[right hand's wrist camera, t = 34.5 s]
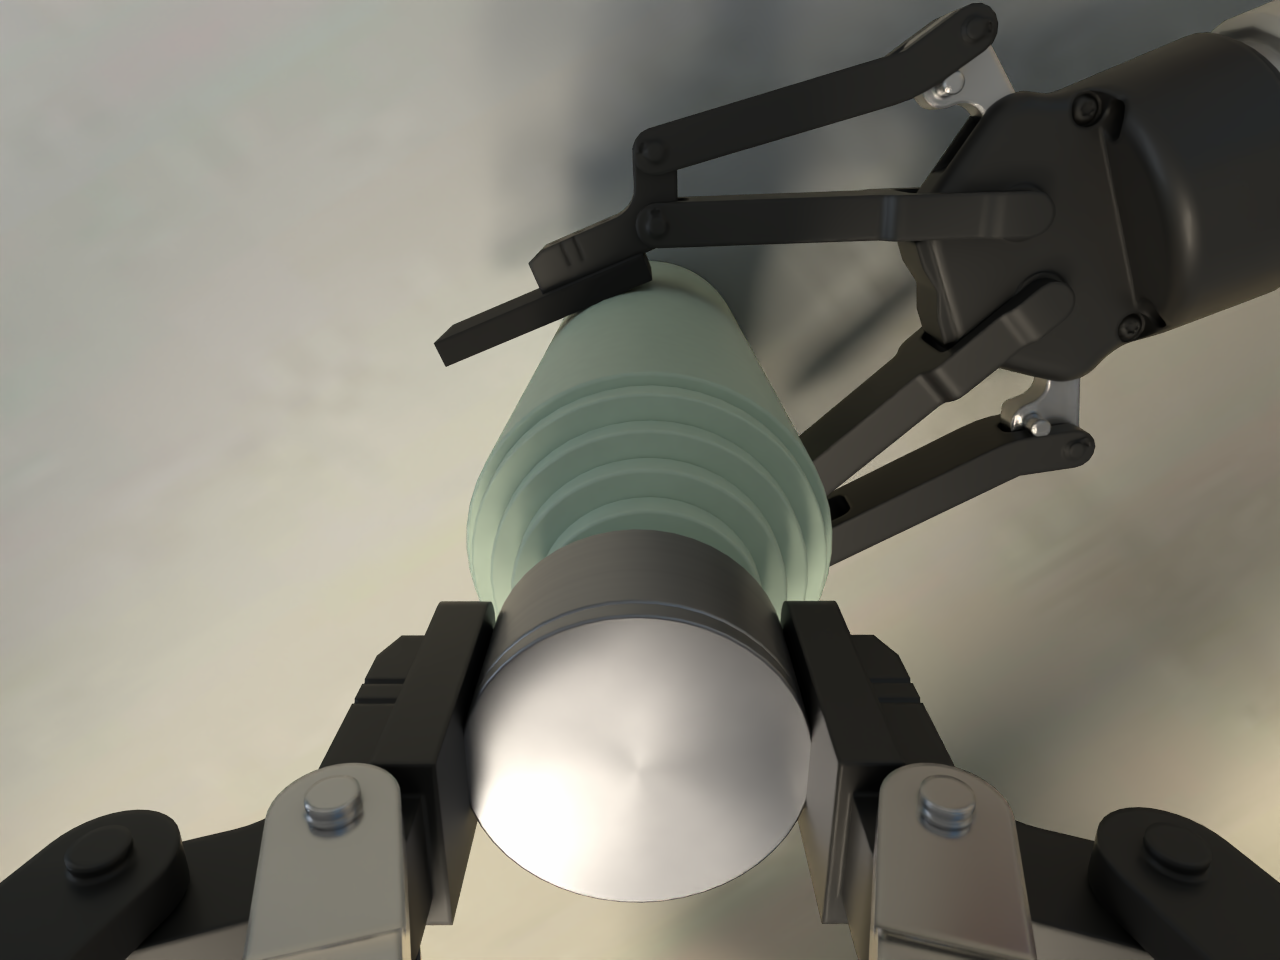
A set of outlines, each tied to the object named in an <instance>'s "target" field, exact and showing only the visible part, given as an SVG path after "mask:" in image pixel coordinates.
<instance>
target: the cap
mask: <svg viewBox="0 0 1280 960" xmlns="http://www.w3.org/2000/svg"><path fill="white" fill-rule="evenodd" d="M464 745H465V756H466V767H467V778H468V789H469V800H470V807H471V809H472V811H473V813H474V815H475V816H476V818H477V820H478V822H479V824H480V825H481V827H482V828H483V830H484V831H485V832H486V833H487V835H488V836H489V837H490V839H491V840H492V841H493V842H494V843H495V844H496V845H497V846H498V847H499V848H500V849H501V850H502V851H503V852H504V853H505V855H506V856H508V857H509V858H510V859H512V860H513V861H514V862H515V863H517V864H518V865H519V866H521V867H522V868H523V869H525V870H527V871H528V872H530V873H531V874H533V875H535V876H536V877H538V878H540V879H542V880H544V881H546V882H548V883H550V884H552V885H555V886H557V887H559V888H562V889H565V890H568V891H571V892H573V893H576V894H580V895H584V896H588V897H593V898H597V899H603V900H610V901H618V902H656V901H666V900H672V899H678V898H684V897H688V896H691V895H695V894H699V893H702V892H706V891H708V890H711V889H713V888H716V887H718V886H721V885H723V884H726V883H727V882H729V881H731V880H733V879H735V878H737V877H739V876H741V875H743V874H744V873H746V872H747V871H749V870H750V869H752V868H753V867H754V866H756V865H757V864H759V863H760V862H761V861H762V860H764V859H765V858H766V857H767V856H768V855H769V854H770V853H772V852H773V851H774V850H775V849H776V848H777V847H778V845H779V844H780V843H781V842H782V841H783V840H784V839H785V838H786V836H787V835H788V834H789V832H790V831H791V829H792V828H793V826H794V825H795V823H796V822H797V820H798V818H799V816H800V814H801V812H802V810H803V808H804V806H805V803H806V794H807V783H808V772H809V760H810V749H811V727H810V723H809V720H808V716H807V713H806V709H805V706H804V702H803V699H802V696H801V692H800V689H799V685H798V682H797V678H796V675H795V671H794V668H793V664H792V661H791V658H790V654H789V651H788V647H787V644H786V640H785V637H784V633H783V630H782V627H781V624H780V621H779V618H778V615H777V613H776V610H775V608H774V606H773V605H772V603H771V601H770V599H769V597H768V595H767V594H766V593H765V591H764V590H763V589H762V587H761V586H760V585H759V583H758V582H757V581H756V580H755V579H754V578H753V577H752V576H751V575H750V574H749V573H748V572H747V571H746V569H745V568H743V567H742V566H741V565H740V564H738V563H737V562H736V561H734V560H733V559H732V558H730V557H729V556H728V555H726V554H724V553H722V552H721V551H719V550H717V549H715V548H714V547H712V546H710V545H707V544H705V543H702V542H700V541H698V540H695V539H693V538H689V537H686V536H682V535H679V534H675V533H670V532H664V531H657V530H641V529H631V530H619V531H611V532H606V533H601V534H596V535H592V536H589V537H586V538H583V539H581V540H578V541H575V542H572V543H570V544H568V545H566V546H564V547H562V548H560V549H558V550H556V551H554V552H553V553H551V554H550V555H548V556H547V557H545V558H544V559H542V560H541V561H539V562H538V563H537V564H536V565H535V566H534V567H533V568H531V569H530V570H529V571H528V572H527V573H526V574H525V575H524V576H523V577H522V578H521V579H520V581H519V582H518V583H517V584H516V585H515V586H514V588H513V589H512V591H511V592H510V594H509V595H508V597H507V598H506V600H505V602H504V604H503V606H502V608H501V610H500V612H499V615H498V617H497V620H496V623H495V626H494V630H493V633H492V636H491V639H490V643H489V646H488V649H487V652H486V656H485V659H484V662H483V665H482V669H481V672H480V675H479V678H478V682H477V685H476V688H475V691H474V695H473V698H472V701H471V704H470V708H469V711H468V714H467V718H466V721H465V725H464Z"/></svg>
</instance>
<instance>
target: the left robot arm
mask: <svg viewBox="0 0 1280 960" xmlns="http://www.w3.org/2000/svg"><path fill="white" fill-rule="evenodd" d="M997 29H998V21H997V17H996V14H995V12H994V11H993V10H992V9H991V8H990V7H989V6H987V5H985V4H983V3H972V4H970V5H967V6H965V7H963V8H960V9H957V10H955V11H953V12H950V13H948V14H946V15H944V16H941V17H939V18H937V19H935V20H933V21H932V22H930V23H929V24H928V25H926V26H925V27H924V28H922V29H921V30H920V31H918V32H917V33H916V34H914V35H913V36H912V37H910V38H909V39H908V40H906V41H905V42H903V43H902V44H901V45H899V46H898V47H897V48H895V49H894V50H893V51H891V52H890V53H889V54H887V55H886V56H885V57H882V58H879V59H876V60H873V61H869V62H866V63H863V64H859V65H856V66H853V67H850V68H846V69H843V70H840V71H836V72H833V73H830V74H826V75H823V76H820V77H817V78H813V79H810V80H807V81H803V82H800V83H797V84H794V85H790V86H787V87H784V88H780V89H777V90H774V91H770V92H767V93H764V94H761V95H757V96H754V97H751V98H747V99H744V100H741V101H738V102H734V103H731V104H728V105H724V106H721V107H718V108H714V109H711V110H708V111H705V112H701V113H698V114H695V115H691V116H688V117H685V118H681V119H678V120H675V121H672V122H668V123H665V124H662V125H658V126H655V127H652V128H649V129H647V130H644V131H643V132H641V133H640V134H639V136H638V137H637V138H636V140H635V142H634V145H633V176H634V194H633V197H632V200H631V202H630V203H629V205H628V206H627V207H626V208H625V209H624V210H623V211H621V212H620V213H618V214H616V215H613V216H611V217H609V218H607V219H604V220H602V221H600V222H597V223H595V224H593V225H590V226H588V227H586V228H583V229H581V230H579V231H577V232H574V233H572V234H570V235H567V236H565V237H563V238H560V239H558V240H556V241H553V242H551V243H549V244H546V245H545V246H544V248H543V249H542V250H541V251H540V252H539V253H538V254H537V255H536V256H535V257H534V258H533V259H532V260H531V261H530V262H529V263H528V264H529V266H530V268H531V270H532V272H533V275H534V277H535V279H536V281H537V284H538V286H539V289H536V290H534V291H532V292H529V293H527V294H524V295H522V296H520V297H517V298H515V299H513V300H510V301H508V302H506V303H503V304H501V305H499V306H496V307H494V308H492V309H489V310H487V311H485V312H482V313H480V314H477V315H475V316H473V317H470V318H468V319H466V320H463V321H461V322H459V323H456V324H454V325H452V326H451V327H450V328H449V329H448V330H447V331H446V332H445V333H444V334H443V335H442V336H441V337H440V338H439V339H438V340H437V341H436V342H435V343H434V345H435V347H436V349H437V351H438V353H439V355H440V356H441V358H442V360H443V362H444V364H445V366H446V367H447V366H449V365H451V364H454V363H456V362H459V361H461V360H463V359H466V358H468V357H470V356H473V355H475V354H478V353H480V352H482V351H485V350H487V349H490V348H492V347H494V346H497V345H499V344H502V343H504V342H506V341H509V340H511V339H513V338H516V337H518V336H521V335H523V334H525V333H528V332H530V331H533V330H535V329H537V328H540V327H542V326H545V325H547V324H549V323H552V322H554V321H557V320H559V319H561V318H564V317H566V316H568V315H571V314H573V313H576V312H578V311H580V310H583V309H585V308H588V307H590V306H592V305H595V304H597V303H599V302H601V301H603V300H606V299H609V298H611V297H614V296H616V295H619V294H621V293H623V292H626V291H628V290H631V289H633V288H635V287H638V286H640V285H643V284H645V283H647V282H650V281H652V270H651V265H650V263H649V260H648V258H647V255H646V252H648V251H651V250H653V249H655V248H677V247H706V246H734V245H762V244H790V243H818V242H846V241H876V240H879V241H896V242H898V246H899V249H900V253H901V256H902V259H903V261H904V263H905V264H906V266H907V268H908V269H909V271H910V272H911V274H912V275H913V277H914V279H915V280H916V286H917V310H918V314H919V317H920V321H921V324H922V327H921V328H920V329H919V330H918V331H916V332H915V333H914V334H913V335H912V336H910V337H909V338H908V339H907V340H906V341H905V342H904V343H903V344H902V345H901V346H900V348H899V350H898V353H897V354H896V356H895V357H894V358H893V359H891V360H890V361H889V362H888V363H887V364H885V365H884V366H883V367H882V368H881V369H879V370H878V371H877V372H876V373H875V374H873V375H872V376H871V377H870V378H869V379H867V380H866V381H865V382H864V383H863V384H861V385H860V386H859V387H858V388H857V389H855V390H854V391H853V392H852V393H851V394H849V395H848V396H847V397H846V398H844V399H843V400H842V401H841V402H840V403H838V404H837V405H836V406H835V407H834V408H832V409H831V410H830V411H829V412H828V413H826V414H825V415H824V416H823V417H822V418H820V419H819V420H818V421H817V422H816V423H814V424H813V425H812V426H811V427H810V428H808V429H807V430H806V431H805V432H804V433H802V434H801V435H800V436H799V438H800V440H801V442H802V443H803V445H804V447H805V449H806V451H807V453H808V454H809V456H810V458H811V460H812V462H813V464H814V466H815V468H816V470H817V472H818V475H819V477H820V479H821V482H822V484H823V486H824V489H825V493H826V497H827V501H828V504H829V508H830V515H831V524H832V554H831V560H830V566H832V565H834V564H836V563H838V562H840V561H842V560H844V559H846V558H848V557H850V556H853V555H855V554H857V553H859V552H861V551H863V550H865V549H867V548H869V547H871V546H873V545H876V544H878V543H880V542H882V541H884V540H886V539H888V538H890V537H892V536H894V535H896V534H899V533H901V532H903V531H905V530H907V529H909V528H911V527H913V526H915V525H917V524H919V523H922V522H924V521H926V520H928V519H930V518H932V517H934V516H936V515H938V514H940V513H942V512H945V511H947V510H949V509H951V508H953V507H955V506H957V505H959V504H961V503H963V502H965V501H968V500H970V499H972V498H974V497H976V496H978V495H980V494H982V493H984V492H986V491H988V490H991V489H993V488H995V487H997V486H999V485H1001V484H1003V483H1005V482H1007V481H1009V480H1011V479H1014V478H1016V477H1018V476H1020V475H1027V474H1034V473H1041V472H1048V471H1054V470H1061V469H1068V468H1075V467H1078V466H1081V465H1083V464H1084V463H1086V462H1087V461H1088V460H1089V459H1090V458H1091V456H1092V455H1093V453H1094V449H1095V442H1094V439H1093V438H1092V436H1091V435H1090V434H1089V433H1087V432H1086V431H1084V430H1083V429H1081V428H1080V427H1079V398H1080V378H1081V377H1083V376H1084V375H1086V374H1088V373H1089V372H1090V371H1092V370H1093V369H1094V368H1095V367H1096V366H1097V365H1098V364H1099V363H1100V362H1101V361H1102V360H1103V359H1104V358H1105V357H1106V356H1107V355H1109V354H1110V353H1111V352H1113V351H1114V350H1116V349H1117V348H1119V347H1120V346H1122V345H1124V344H1127V343H1129V342H1132V341H1136V340H1139V339H1143V338H1147V337H1150V336H1154V335H1157V334H1160V333H1163V332H1166V331H1169V330H1172V329H1174V328H1177V327H1180V326H1182V325H1185V324H1188V323H1190V322H1193V321H1196V320H1198V319H1201V318H1204V317H1206V316H1209V315H1211V314H1214V313H1217V312H1219V311H1222V310H1225V309H1227V308H1230V307H1233V306H1235V305H1238V304H1241V303H1243V302H1246V301H1249V300H1251V299H1254V298H1257V297H1259V296H1262V295H1264V294H1267V293H1269V292H1272V291H1274V290H1276V289H1278V288H1279V287H1280V0H1274V1H1272V2H1269V3H1267V4H1264V5H1262V6H1259V7H1257V8H1255V9H1252V10H1250V11H1247V12H1245V13H1242V14H1240V15H1238V16H1235V17H1233V18H1230V19H1228V20H1225V21H1224V22H1222V23H1221V24H1220V25H1219V26H1218V27H1216V28H1215V29H1214V30H1213V31H1212V32H1210V33H1207V32H1205V33H1195V34H1192V35H1189V36H1186V37H1183V38H1181V39H1179V40H1176V41H1174V42H1171V43H1169V44H1167V45H1164V46H1162V47H1160V48H1157V49H1155V50H1153V51H1150V52H1148V53H1145V54H1143V55H1141V56H1138V57H1136V58H1134V59H1131V60H1129V61H1127V62H1124V63H1122V64H1119V65H1117V66H1115V67H1112V68H1110V69H1108V70H1105V71H1103V72H1101V73H1098V74H1096V75H1093V76H1091V77H1089V78H1086V79H1084V80H1082V81H1079V82H1077V83H1074V84H1072V85H1070V86H1067V87H1065V88H1063V89H1060V90H1058V91H1054V92H1051V93H1037V92H1030V91H1020V92H1015V91H1014V89H1013V87H1012V85H1011V83H1010V81H1009V79H1008V77H1007V75H1006V73H1005V71H1004V69H1003V67H1002V65H1001V63H1000V61H999V59H998V57H997V55H996V53H995V51H994V49H993V47H992V45H991V44H992V43H993V41H994V39H995V37H996V35H997ZM912 98H914V99H915V101H916V102H917V103H918V105H920V106H921V107H923V108H924V109H928V110H935V109H944V108H948V107H951V106H954V105H959V106H962V107H963V108H965V109H966V110H967V111H968V112H969V114H970V115H971V116H970V117H969V118H968V120H967V121H966V123H965V124H964V126H963V127H962V129H961V130H960V131H959V133H958V134H957V136H956V137H955V139H954V140H953V141H952V143H951V144H950V146H949V147H948V149H947V150H946V151H945V153H944V154H943V156H942V157H941V159H940V160H939V162H938V163H937V164H936V166H935V167H934V169H933V170H932V172H931V173H930V174H929V176H928V177H927V179H926V180H925V182H924V183H923V184H922V186H921V187H916V188H889V189H867V190H859V191H833V192H805V193H778V194H750V195H723V196H695V197H678V195H677V170H678V169H681V168H685V167H688V166H691V165H695V164H698V163H701V162H705V161H708V160H712V159H715V158H718V157H722V156H725V155H728V154H732V153H735V152H738V151H742V150H745V149H749V148H752V147H755V146H759V145H762V144H765V143H769V142H772V141H775V140H779V139H782V138H785V137H789V136H792V135H796V134H799V133H802V132H806V131H809V130H812V129H816V128H819V127H822V126H826V125H829V124H833V123H836V122H839V121H843V120H846V119H849V118H853V117H856V116H859V115H863V114H866V113H870V112H873V111H876V110H880V109H883V108H886V107H890V106H893V105H896V104H899V103H902V102H904V101H907V100H910V99H912ZM998 368H1001V369H1005V370H1009V371H1013V372H1017V373H1021V374H1025V375H1030V376H1034V381H1033V383H1032V385H1031V386H1030V388H1029V389H1028V390H1027V391H1026V392H1024V393H1023V394H1021V395H1019V396H1016V397H1014V398H1011V399H1008V400H1006V401H1005V402H1004V403H1003V404H1002V408H1001V410H1002V411H1001V414H1000V415H995V416H990V417H987V418H984V419H981V420H977V421H975V422H973V423H970V424H968V425H966V426H963V427H961V428H959V429H957V430H955V431H953V432H951V433H949V434H947V435H945V436H943V437H941V438H939V439H937V440H935V441H933V442H931V443H929V444H927V445H925V446H923V447H921V448H919V449H917V450H915V451H913V452H911V453H909V454H907V455H905V456H903V457H901V458H899V459H897V460H895V461H893V462H891V463H888V464H886V465H884V466H882V467H880V468H878V469H876V470H874V471H872V472H870V473H868V474H866V475H864V476H862V477H860V478H858V479H856V480H854V481H852V482H850V483H848V484H846V485H844V486H842V487H840V488H838V489H836V488H837V487H839V486H840V485H841V484H842V483H844V482H845V481H846V480H847V479H849V478H850V477H851V476H852V475H854V474H855V473H856V472H857V471H859V470H860V469H861V468H862V467H864V466H865V465H866V464H867V463H869V462H870V461H871V460H872V459H874V458H875V457H876V456H877V455H879V454H880V453H881V452H882V451H884V450H885V449H886V448H887V447H889V446H890V445H891V444H892V443H894V442H895V441H896V440H897V439H899V438H900V437H901V436H902V435H904V434H905V433H906V432H907V431H909V430H910V429H911V428H912V427H914V426H915V425H916V424H917V423H919V422H920V421H921V420H922V419H924V418H925V417H926V416H927V415H929V414H930V413H931V412H932V411H934V410H935V409H936V408H937V407H939V406H940V405H941V404H943V403H945V402H950V401H955V400H957V399H959V398H961V397H962V396H964V395H965V394H966V393H968V392H969V391H970V390H971V389H973V388H974V387H975V386H977V385H978V384H979V383H980V382H982V381H983V380H984V379H985V378H987V377H988V376H989V375H990V374H992V373H993V372H994V371H995V370H997V369H998ZM835 489H836V490H835ZM830 566H829V567H830Z"/></svg>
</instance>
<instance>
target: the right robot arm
mask: <svg viewBox="0 0 1280 960" xmlns="http://www.w3.org/2000/svg"><path fill="white" fill-rule="evenodd" d="M495 623H496V621H495V611H494V606H493V603H492V602H491V601H442V602H440V603H439V604H438V606H437V608H436V611H435V613H434V615H433V618H432V620H431V622H430V624H429V627H428V629H427V631H426V634H425V636H401V637H399V638H398V639H397V640H396V641H395V642H393V643H392V644H391V645H390V646H388V647H387V648H386V649H385V650H383V651H382V652H381V653H380V654H378V655H377V656H376V658H375V660H374V662H373V664H372V666H371V668H370V670H369V672H368V674H367V676H366V678H365V684H362V686H361V688H360V689H359V691H358V693H357V695H356V697H355V703H354V704H352V705H351V707H350V709H349V711H348V713H347V715H346V717H345V719H344V721H343V723H342V724H341V726H340V728H339V730H338V732H337V734H336V736H335V738H334V740H333V742H332V744H331V746H330V748H329V750H328V752H327V754H326V756H325V757H324V759H323V761H322V763H321V765H320V767H319V769H318V770H315V771H313V772H310V773H308V774H306V775H304V776H302V777H301V778H299V779H297V780H295V781H294V782H292V783H291V784H290V785H288V786H287V787H286V788H285V789H284V790H283V791H282V792H281V793H279V794H278V796H277V797H276V798H275V799H274V801H273V802H272V803H271V805H270V807H269V809H268V811H267V815H266V818H265V819H263V820H261V821H259V822H256V823H253V824H251V825H248V826H245V827H241V828H238V829H234V830H230V831H226V832H221V833H217V834H213V835H209V836H204V837H200V838H196V839H191V840H187V841H183V842H182V839H181V835H180V832H179V829H178V826H177V824H176V823H175V822H174V820H173V819H171V818H170V817H168V816H167V815H165V814H162V813H160V812H156V811H151V810H129V811H122V812H117V813H112V814H108V815H105V816H102V817H98V818H96V819H93V820H91V821H88V822H86V823H84V824H82V825H79V826H77V827H75V828H73V829H72V830H70V831H68V832H67V833H65V834H63V835H61V836H60V837H59V838H57V839H56V840H54V841H53V842H52V843H50V844H49V845H48V846H46V847H45V848H44V849H43V850H41V851H40V852H39V853H38V854H36V855H35V856H34V857H32V858H31V859H30V860H29V861H27V862H26V863H25V864H24V865H22V866H21V867H20V868H19V869H17V870H16V871H15V872H13V873H12V874H11V875H10V876H8V877H7V878H6V879H5V880H3V881H2V882H1V883H0V960H422V958H421V950H420V944H421V940H422V937H423V933H424V929H425V926H426V925H453V921H454V917H455V913H456V908H457V904H458V900H459V896H460V892H461V888H462V883H463V879H464V875H465V871H466V867H467V863H468V858H469V854H470V850H471V846H472V842H473V838H474V833H475V829H476V825H477V821H478V820H477V818H476V816H475V815H474V813H473V811H472V809H471V807H470V800H469V789H468V778H467V767H466V756H465V745H464V725H465V721H466V718H467V714H468V711H469V708H470V704H471V701H472V698H473V695H474V691H475V688H476V685H477V682H478V678H479V675H480V672H481V669H482V665H483V662H484V659H485V656H486V652H487V649H488V646H489V643H490V639H491V636H492V633H493V630H494V626H495ZM780 624H781V627H782V630H783V633H784V637H785V640H786V644H787V647H788V651H789V654H790V658H791V661H792V664H793V668H794V671H795V675H796V678H797V682H798V685H799V689H800V692H801V696H802V699H803V702H804V706H805V709H806V713H807V716H808V720H809V723H810V727H811V749H810V760H809V772H808V783H807V794H806V803H805V806H804V808H803V810H802V812H801V814H800V816H799V818H798V823H799V827H800V831H801V836H802V840H803V844H804V849H805V853H806V857H807V862H808V866H809V870H810V874H811V879H812V883H813V887H814V892H815V896H816V900H817V905H818V909H819V913H820V917H821V922H822V924H849V927H850V931H851V935H852V939H853V942H854V946H855V950H856V953H857V956H858V960H1280V883H1279V882H1278V881H1277V880H1275V879H1274V878H1273V877H1272V876H1270V875H1269V874H1268V873H1267V872H1265V871H1264V870H1263V869H1261V868H1260V867H1259V866H1258V865H1256V864H1255V863H1254V862H1253V861H1251V860H1250V859H1249V858H1248V857H1246V856H1245V855H1244V854H1242V853H1241V852H1240V851H1239V850H1237V849H1236V848H1235V847H1234V846H1232V845H1231V844H1230V843H1229V842H1227V841H1226V840H1225V839H1223V838H1222V837H1220V836H1219V835H1218V834H1216V833H1215V832H1213V831H1211V830H1209V829H1208V828H1206V827H1204V826H1203V825H1201V824H1198V823H1196V822H1194V821H1192V820H1190V819H1188V818H1185V817H1182V816H1180V815H1177V814H1174V813H1170V812H1167V811H1163V810H1158V809H1152V808H1142V807H1133V808H1124V809H1119V810H1116V811H1114V812H1111V813H1109V814H1108V815H1107V816H1105V817H1104V818H1103V819H1102V821H1101V822H1100V824H1099V826H1098V829H1097V833H1096V837H1095V841H1091V840H1087V839H1083V838H1079V837H1074V836H1070V835H1066V834H1062V833H1057V832H1053V831H1049V830H1044V829H1040V828H1037V827H1033V826H1029V825H1026V824H1023V823H1021V822H1018V821H1015V818H1014V815H1013V811H1012V809H1011V807H1010V805H1009V803H1008V802H1007V801H1006V799H1005V798H1004V797H1003V796H1002V794H1001V793H999V792H998V791H997V790H996V789H995V788H994V787H993V786H992V785H990V784H989V783H988V782H986V781H985V780H983V779H981V778H979V777H978V776H976V775H974V774H972V773H970V772H967V771H965V770H962V769H959V768H956V767H955V766H954V764H953V762H952V760H951V758H950V756H949V754H948V752H947V750H946V748H945V746H944V744H943V742H942V740H941V738H940V736H939V734H938V732H937V730H936V728H935V726H934V724H933V722H932V720H931V718H930V716H929V714H928V713H927V711H926V709H925V707H924V705H923V703H920V697H919V695H918V693H917V691H916V689H915V687H914V685H913V683H910V677H909V675H908V673H907V671H906V669H905V667H904V665H903V663H902V661H901V659H900V657H899V655H898V654H896V653H895V652H894V651H893V650H892V649H890V648H889V647H888V646H887V645H885V644H884V643H883V642H882V641H881V640H879V639H878V638H877V637H876V636H874V635H850V632H849V630H848V628H847V625H846V623H845V621H844V618H843V616H842V614H841V611H840V609H839V607H838V605H837V603H836V602H835V601H784V602H783V605H782V610H781V619H780Z"/></svg>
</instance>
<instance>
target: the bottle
mask: <svg viewBox="0 0 1280 960" xmlns="http://www.w3.org/2000/svg"><path fill="white" fill-rule="evenodd" d="M649 263H650V265H651V270H652V281H650V282H647V283H645V284H643V285H640V286H638V287H635V288H633V289H631V290H628V291H626V292H623V293H621V294H619V295H616V296H614V297H611V298H609V299H606V300H603V301H601V302H599V303H597V304H595V305H592V306H590V307H588V308H585V309H583V310H580V311H578V312H576V313H573V314H571V315H568V316H566V317H565V318H564V320H563V321H562V323H561V325H560V327H559V329H558V331H557V332H556V334H555V336H554V338H553V340H552V342H551V344H550V345H549V347H548V349H547V351H546V353H545V355H544V356H543V358H542V360H541V362H540V364H539V366H538V367H537V369H536V371H535V373H534V375H533V377H532V378H531V380H530V382H529V384H528V386H527V388H526V389H525V391H524V393H523V395H522V397H521V399H520V401H519V402H518V404H517V406H516V408H515V410H514V412H513V413H512V415H511V417H510V419H509V421H508V423H507V424H506V426H505V428H504V430H503V432H502V434H501V435H500V437H499V439H498V441H497V443H496V445H495V446H494V448H493V450H492V452H491V454H490V456H489V458H488V459H487V461H486V463H485V465H484V468H483V470H482V472H481V474H480V476H479V478H478V480H477V483H476V486H475V489H474V492H473V496H472V499H471V502H470V508H469V514H468V521H467V553H468V561H469V568H470V572H471V575H472V579H473V582H474V586H475V589H476V592H477V594H478V597H479V600H480V601H491V602H492V603H493V606H494V611H495V621H496V620H497V617H498V615H499V612H500V610H501V608H502V606H503V604H504V602H505V600H506V598H507V597H508V595H509V594H510V592H511V591H512V589H513V588H514V586H515V585H516V584H517V583H518V582H519V581H520V579H521V578H522V577H523V576H524V575H525V574H526V573H527V572H528V571H529V570H530V569H531V568H533V567H534V566H535V565H536V564H537V563H538V562H539V561H541V560H542V559H544V558H545V557H547V556H548V555H550V554H551V553H553V552H554V551H556V550H558V549H560V548H562V547H564V546H566V545H568V544H570V543H572V542H575V541H578V540H581V539H583V538H586V537H589V536H592V535H596V534H601V533H606V532H611V531H619V530H631V529H641V530H657V531H664V532H670V533H675V534H679V535H682V536H686V537H689V538H693V539H695V540H698V541H700V542H702V543H705V544H707V545H710V546H712V547H714V548H715V549H717V550H719V551H721V552H722V553H724V554H726V555H728V556H729V557H730V558H732V559H733V560H734V561H736V562H737V563H738V564H740V565H741V566H742V567H743V568H745V569H746V571H747V572H748V573H749V574H750V575H751V576H752V577H753V578H754V579H755V580H756V581H757V582H758V583H759V585H760V586H761V587H762V589H763V590H764V591H765V593H766V594H767V595H768V597H769V599H770V601H771V603H772V605H773V606H774V608H775V610H776V613H777V615H778V618H779V621H780V619H781V610H782V605H783V602H784V601H819V599H820V597H821V594H822V591H823V588H824V585H825V582H826V579H827V576H828V571H829V566H830V560H831V554H832V524H831V515H830V508H829V504H828V501H827V497H826V493H825V489H824V486H823V484H822V482H821V479H820V477H819V475H818V472H817V470H816V468H815V466H814V464H813V462H812V460H811V458H810V456H809V454H808V453H807V451H806V449H805V447H804V445H803V443H802V442H801V440H800V438H799V436H798V434H797V432H796V431H795V429H794V427H793V425H792V423H791V421H790V419H789V418H788V416H787V414H786V412H785V410H784V408H783V407H782V405H781V403H780V401H779V399H778V397H777V396H776V394H775V392H774V390H773V388H772V386H771V384H770V383H769V381H768V379H767V377H766V375H765V373H764V372H763V370H762V368H761V366H760V364H759V362H758V361H757V359H756V357H755V355H754V353H753V351H752V349H751V348H750V346H749V344H748V342H747V340H746V338H745V337H744V335H743V333H742V331H741V329H740V327H739V326H738V324H737V322H736V320H735V318H734V316H733V314H732V313H731V311H730V309H729V307H728V306H727V304H726V302H725V301H724V299H723V298H722V297H721V295H720V294H719V293H718V292H717V291H716V289H715V288H714V287H712V286H711V285H710V284H709V283H708V282H707V281H706V280H704V279H703V278H702V277H700V276H699V275H697V274H696V273H694V272H692V271H690V270H688V269H686V268H683V267H680V266H678V265H675V264H670V263H666V262H658V261H649Z"/></svg>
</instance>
